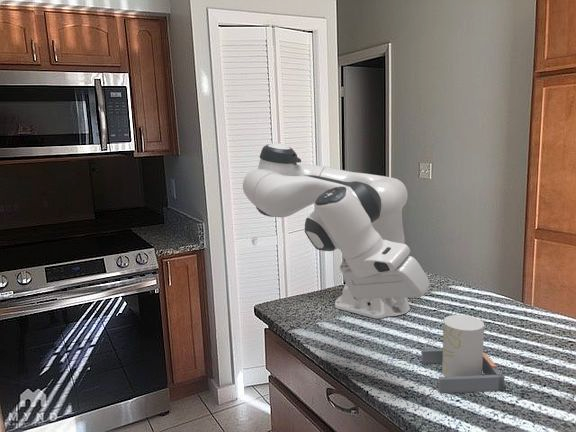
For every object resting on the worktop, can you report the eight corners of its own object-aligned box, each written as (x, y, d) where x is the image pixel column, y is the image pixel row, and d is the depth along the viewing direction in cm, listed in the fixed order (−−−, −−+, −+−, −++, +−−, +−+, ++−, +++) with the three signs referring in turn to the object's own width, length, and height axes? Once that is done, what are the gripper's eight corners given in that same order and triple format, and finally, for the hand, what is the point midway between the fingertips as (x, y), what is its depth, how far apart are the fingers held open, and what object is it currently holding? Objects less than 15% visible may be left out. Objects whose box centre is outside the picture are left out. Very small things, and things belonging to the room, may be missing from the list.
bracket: (440, 393, 93) (440, 377, 92) (421, 361, 106) (421, 347, 105) (503, 390, 93) (504, 374, 92) (477, 359, 106) (477, 345, 105)
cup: (437, 364, 104) (439, 315, 102) (474, 364, 104) (476, 314, 102) (448, 384, 96) (449, 330, 94) (487, 383, 96) (490, 330, 94)
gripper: (328, 271, 101) (359, 320, 104) (397, 263, 84) (432, 321, 87) (345, 254, 105) (375, 302, 107) (414, 243, 88) (447, 300, 90)
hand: (401, 311), depth 97 cm, fingers closed
